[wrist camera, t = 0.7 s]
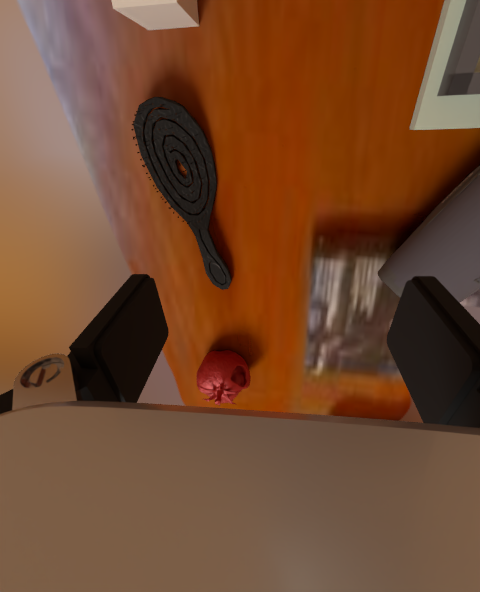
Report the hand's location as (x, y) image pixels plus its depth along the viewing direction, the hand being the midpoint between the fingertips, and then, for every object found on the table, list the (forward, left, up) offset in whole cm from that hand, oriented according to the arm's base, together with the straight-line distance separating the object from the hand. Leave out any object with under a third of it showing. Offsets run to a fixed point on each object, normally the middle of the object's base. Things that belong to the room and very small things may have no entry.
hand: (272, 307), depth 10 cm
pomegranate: (+34, -8, -27) cm, 44 cm away
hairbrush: (+5, -10, -27) cm, 29 cm away
